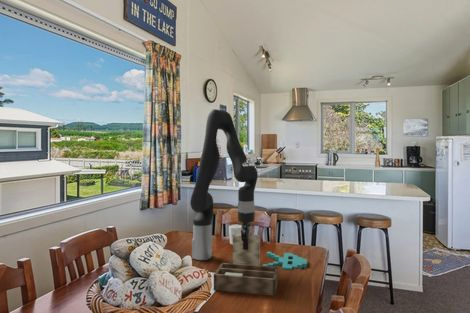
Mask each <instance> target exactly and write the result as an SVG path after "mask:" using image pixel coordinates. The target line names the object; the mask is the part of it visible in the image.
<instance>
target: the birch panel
mask: <svg viewBox="0 0 470 313" xmlns="http://www.w3.org/2000/svg"><path fill="white" fill-rule="evenodd" d="M244 238H245V237H244ZM245 239H246V238H245ZM248 240H249V241H248V250H244V249H243V241H242V237H241V234H233V245H232V264H245V265H259V266H261V234H251V235H249V236H248Z"/></svg>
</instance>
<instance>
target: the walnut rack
mask: <svg viewBox="0 0 470 313" xmlns="http://www.w3.org/2000/svg"><path fill="white" fill-rule="evenodd" d="M226 272H229V273H242V274H243V276H236V275H224V274H225V273H226ZM278 283H279V266H273V267H272V266H263V265H260V266H259V265H245V264H233V262H232V263H230V262H221V264H219V266H218V268H217V269H216V270H215V272H214V274H213V290H214V291H220V292H221V291H222V292H232V293H233V292H234V293H242V294H243V293H244V294H255V295H267V296H276V294H277V288H278V285H279V284H278Z"/></svg>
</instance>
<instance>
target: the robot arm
mask: <svg viewBox="0 0 470 313" xmlns="http://www.w3.org/2000/svg"><path fill="white" fill-rule="evenodd" d="M218 130H222V132H223V133H224V135H225V137H226V152H227V154H228V157H229V159H230V161H231V163H232V164H231V165H232V169H233V176H234V178H235V180H236V181H237V182H239V183H244V185H243V186H240V187H239V188H238V195H237V196H238V200H237V221H238V222H240V223H242V224H241V229H242V230H241V237H242V241H243V249H244V250H248V241H249V240H248V236H249V235H252V234H251V233H252V223H253V222H255V218H256V216H255V215H256V214H255V212H256V211H255V210H256V209H255V208H256V207H255V189H256V186H257V181H258V170H257V168H256V167H255V166H253V165H243V164H245V163H246V162H247V159H248V158H247V155H246V153H245V151H244V149H243V147H242V145H241V143H240V140H239V137H238V134H237V131H236V127H235V124H234V120H233V118H232V116H231V113H229V112H228V111H225V110H220V109H215V108H214V109H211V110H210V111H209V113H208V115H207V118H206V125H205V132H204V133H205V134H204V140H203V141H204V142H203V146H202V152H201V156H200V161H199V164H198V165H199V167H198V170H197V175H196V180H195V184H194V188H193V191H192V194H191V197H190V203H189V204H190V208H191V210H192V211H193V212H195V213H196V214H195V215H194V217H193V219H192V221H193V222H192V223H193V224H192V232H193V234H192V240H191V258H192V259H194V260H197V261H207V260H210V259H212V253H213V252H212V220H213V215H214V198H213V196H212V194H211V193H210V192H209V187H210V185H211V183H212V182H213V179H214V178H215V175H216V174H217V172H218V169H219V164H220V160H221V156H220V154H221V153H220V151H219V147H218V143H217V137H218ZM244 237H245V238H246V239H245V238H244Z"/></svg>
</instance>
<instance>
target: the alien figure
mask: <svg viewBox="0 0 470 313" xmlns="http://www.w3.org/2000/svg"><path fill="white" fill-rule="evenodd" d="M268 257H269V258H270V259H273V260H274V261H272V262H268V263H267V264H264V263H263V264H262V266H272V267H279V266H280V267H281V269H282V270H290V271H293V269H299V268H300V270H302V269H303V268H307V267H308V262H307V261H308V259H307V258H303V257H302V256H298V254H294V253H290V252H284V253H283V257H282V256H280V255H276V253H272V251H267V252H266V258H268Z"/></svg>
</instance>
